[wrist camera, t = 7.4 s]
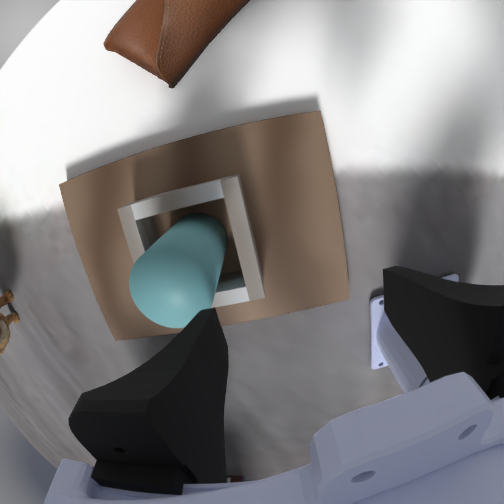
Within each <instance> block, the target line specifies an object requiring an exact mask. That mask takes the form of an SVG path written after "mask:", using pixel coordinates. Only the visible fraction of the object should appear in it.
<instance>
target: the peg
mask: <svg viewBox="0 0 504 504" xmlns="http://www.w3.org/2000/svg"><path fill="white" fill-rule="evenodd" d="M227 244H228V239H227V234H226V231H225V229H224V227H223V225H222V224H221V223H220V222H219V221H218V220H217V219H216V218H214V217H213V216H211V215H208V214H205V213H192V214H188V215H186V216H184V217H183V218H181V219H180V220H179V221H178V222H177V223H176V224H175V225H173V226H172V227H171V228H170V229H169V230H168V231H167V232H166V233H165V234H164V235H163V236H161V237H160V238H159V239H158V240H157V241H156V242H155V243H154V244H153V245H152V246H151V247H150V248H149V249H148V250H147V251H145V252H144V253H143V254H142V255H141V256H140V257H139V258H138V259H137V261H136V262H135V263H134V265H133V267H132V269H131V272H130V277H129V288H130V293H131V296H132V299H133V301H134V303H135V304H136V306H137V307H138V309H139V310H140V311H141V312H142V313H143V314H144V315H145V316H146V317H147V318H149V319H150V320H151V321H153V322H155V323H157V324H159V325H162V326H165V327H170V328H184V327H185V326H186V325H187V324H188V323H189V322H190V321H191V320H192V319H193V318H194V316H195V315H196V314H197V313H198V312H199V311H200V310H203V309H209V308H211V306H212V304H213V300H214V296H215V292H216V288H217V284H218V280H219V276H220V272H221V268H222V265H223V261H224V257H225V253H226V249H227Z"/></svg>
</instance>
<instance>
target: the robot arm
mask: <svg viewBox="0 0 504 504" xmlns="http://www.w3.org/2000/svg"><path fill="white" fill-rule="evenodd" d="M458 281H459V277H458V275H456V274H451V275H448V276H445V277H442V278H439V277H435V276H432V275H428V274H425V273H421V272H418V271H415V270H411V269H408V268H404V267H399V266H394V267H390V268H386V269H383V283H384V295H381V296H377V297H374V298H372V299H371V301H370V332H371V360H370V365H371V368H372V369H378V368H381V367H385V366H389V367H390V369H391V371H392V372H393V374H394V376H395V378H396V379H397V381H398V383H399V385H400V386H401V388H402V390H403V392H404V394H401V395H398V396H395V397H393V398H390V399H387V400H384V401H381V402H378V403H375V404H372V405H369V406H366V407H362V408H359V409H356V410H353V411H350V412H348V413H346V414H344V415H341V416H339V417H337V418H334V419H332V420H331V421H330V422H328V423H327V424H326V425H325V426H324V427H322V428H321V429H320V430H319V431H317V432H316V433H315V434H314V435H313V438H312V441H311V444H310V447H309V451H310V457H311V463H310V464H307V465H305V466H302V467H299V468H296V469H293V470H290V471H287V472H284V473H281V474H278V475H274V476H271V477H268V478H264V479H261V480H256V481H246V482H234V483H227V475H226V463H225V448H224V403H225V394H226V385H227V376H228V366H229V364H228V345H227V342H226V339H225V336H224V333H223V330H222V327H221V324H220V321H219V318H218V315H217V312H216V309H215V307H214V308H209V309H203V310H200V311H199V312H198V313H197V314H196V315H195V316H194V318H193V319H192V320H191V321H190V322H189V323H188V324H187V325H186V326H185V327H184V329H183V330H182V331H181V332H180V333H179V334H178V335H177V336H176V337H175V338H174V339H173V340H172V341H171V342H170V343H169V344H168V345H167V346H166V347H165V348H163V349H162V350H161V351H160V352H159V353H158V354H156V355H155V356H154V357H152V358H151V359H150V360H149V361H147V362H146V363H144V364H143V365H141V366H140V367H138V368H136V369H135V370H133V371H132V372H130V373H128V374H127V375H125V376H123V377H121V378H119V379H117V380H115V381H113V382H111V383H108V384H106V385H104V386H101V387H98V388H96V389H93V390H90V391H88V392H85V393H82V394H81V396H80V398H79V400H78V402H77V403H76V405H75V407H74V409H73V411H72V413H71V415H70V417H69V426H70V429H71V431H72V433H73V434H74V435H75V437H76V438H77V439H78V441H79V442H80V443H81V444H82V445H83V446H84V447H85V448H86V449H87V450H88V451H89V452H90V453H91V455H92V456H93V457H94V458H95V459H96V460H97V461H96V464H95V467H93V466H91V465H89V464H87V463H84V462H78V461H73V460H69V459H62V461H61V463H60V465H59V467H58V470H57V472H56V474H55V477H54V479H53V481H52V484H51V486H50V489H49V491H48V493H47V496H46V499H45V501H44V504H504V285H477V284H469V283H462V282H458ZM381 300H383V301H382V303H379V302H380V301H381ZM381 362H382V363H381ZM379 363H380V364H379Z"/></svg>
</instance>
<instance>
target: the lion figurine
mask: <svg viewBox="0 0 504 504" xmlns="http://www.w3.org/2000/svg"><path fill="white" fill-rule="evenodd" d="M12 301H13V295H12V294H11V292H10V291H7V292H6V293H4V294H3V295H2V296H1V297H0V308H1V307H2V306H4V305H6V304H8V303H9V302H12ZM19 320H20V319H19V316H18V315H17V314H16V313H11V314H9V315H7V316H6V317H5V316H4V315H3V314H1V313H0V356H1V354H2V353H3V352H4V350H5V347H6V346H7V344H8V342H9V339H10V330H9V325H10V323H11V322H12V321H13V322H14V323H17V322H19Z"/></svg>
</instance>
